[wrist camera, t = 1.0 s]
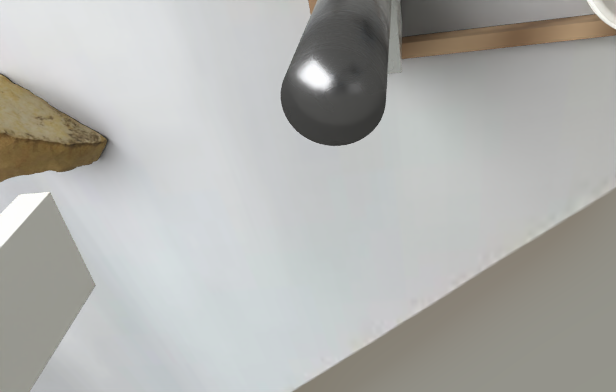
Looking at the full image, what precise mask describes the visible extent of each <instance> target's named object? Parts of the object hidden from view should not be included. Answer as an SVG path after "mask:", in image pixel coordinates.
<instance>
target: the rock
mask: <svg viewBox="0 0 616 392" xmlns="http://www.w3.org/2000/svg"><path fill="white" fill-rule="evenodd" d="M106 143H107V139H106V138H105V137H103V136H102V135H100V134H99V133H97V132H96V131H94V130H92V129H90V128H88V127H87V126H85V125H82V124H80V123H79V122H77V121H76V120H75V119H73V118H71V117H69V116H68V115H66V114H64V113H62V112H60V111H58V110H57V109H55V108H53V107H52V106H50V105H49V104H48V103H47V102H46V101H44V100H43V99H41V98H39V97H38V96H36V95H34V94H33V93H31V92H30V91H28V90H27V89H24V88H22V87H20V86H19V85H16V84H14V83H12V82H11V81H10V80H9V79H7V78H6V77H5V76H3V75H1V74H0V182H2V181H4V180H6V179H8V178H11V177H15V176H20V175H30V174H34V173H41V172H44V171H48V170H52V171H56V172H65V171H69V170H72V169H74V168H76V167H79V166H82V165H89V164H92V162H94V161H97V160H98V159H99V157H100V155H101V153H102V151H103V149H104V148H105V146H106Z"/></svg>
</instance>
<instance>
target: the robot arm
mask: <svg viewBox="0 0 616 392" xmlns="http://www.w3.org/2000/svg"><path fill="white" fill-rule="evenodd" d="M95 286H96V285H95V283H94V281H93V279H92V277H91V275H90V273H89V271H88V269H87V267H86V265H85V263H84V261H83V259H82V257H81V255H80V252H79V250H78V248H77V246H76V244H75V242H74V240H73V238H72V236H71V234H70V232H69V230H68V228H67V226H66V224H65V222H64V220H63V218H62V216H61V214H60V212H59V210H58V207H57V205H56V203H55V201H54V199H53V197H52V195H51V193H50V192H45V193H33V194H22V195H19V196H18V197H17V198H16V199H15V200H14V201H13V202H12V203H11V204H10V205H9V206H8V207H7V208H6V209H5V210H4V211H3V212H2V213H1V214H0V392H30V390H31V389H32V387H33V385H34V384H35V382H36V381H37V379H38V377H39V376H40V374H41V373H42V371H43V369H44V368H45V366H46V365H47V363H48V361H49V360H50V358H51V356H52V355H53V353H54V352H55V350H56V348H57V347H58V345H59V344H60V342H61V340H62V339H63V337H64V336H65V334H66V332H67V331H68V329H69V328H70V326H71V324H72V323H73V321H74V320H75V318H76V316H77V315H78V313H79V312H80V310H81V308H82V307H83V305H84V304H85V302H86V300H87V299H88V297H89V295H90V294H91V292H92V291H93V289H94V287H95Z"/></svg>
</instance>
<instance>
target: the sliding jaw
mask: <svg viewBox="0 0 616 392" xmlns="http://www.w3.org/2000/svg"><path fill="white" fill-rule="evenodd" d="M401 72H402V16H401V4H400V0H317V2H316V5H315V7H314V9H313V12H312V14H311V16H310V19H309V21H308V23H307V26H306V28H305V31H304V33H303V35H302V38H301V40H300V42H299V45H298V47H297V49H296V52H295V54H294V56H293V59H292V61H291V64H290V66H289V68H288V71H287V73H286V75H285V78H284V80H283V83H282V88H281V103H282V107H283V111H284V113H285V116H286V118H287V119H288V121H289V122H290V124H291V125H292V126H293V127H294V128H295V129H296V130H297V131H298V132H299V133H300V134H301V135H303V136H304V137H306V138H307V139H309V140H311V141H314V142H316V143H319V144H324V145H330V146H341V145H347V144H351V143H354V142H356V141H359V140H361V139H362V138H364V137H366V136H367V135H368V134H370V133H371V132H372V131H373V130H374V129H375V127H376V126H377V125H378V123H379V122H380V120H381V118H382V116H383V113H384V109H385V103H386V89H387V74H392V73H401Z"/></svg>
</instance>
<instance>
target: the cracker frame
mask: <svg viewBox="0 0 616 392" xmlns="http://www.w3.org/2000/svg"><path fill="white" fill-rule="evenodd" d="M308 1H309V7H310V13H311V14H312V12H313V9H314V7H315V5H316V2H317V0H308ZM614 35H616V29H614V28H612V27H611V26H609V25H608V24H606V23H605V22H604V21H602V20H601V19H600V18H599V17H598V16H597V15H596V14H593V15H585V16H576V17H568V18H560V19H551V20H543V21H534V22H526V23H517V24H509V25H500V26H492V27H484V28H475V29H467V30H458V31H450V32H441V33H433V34H425V35H416V36H408V37H402V59H406V58H415V57H424V56H433V55H442V54H451V53H460V52H469V51H478V50H487V49H496V48H505V47H514V46H523V45H532V44H541V43H550V42H559V41H568V40H577V39H587V38H596V37H605V36H614Z"/></svg>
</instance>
